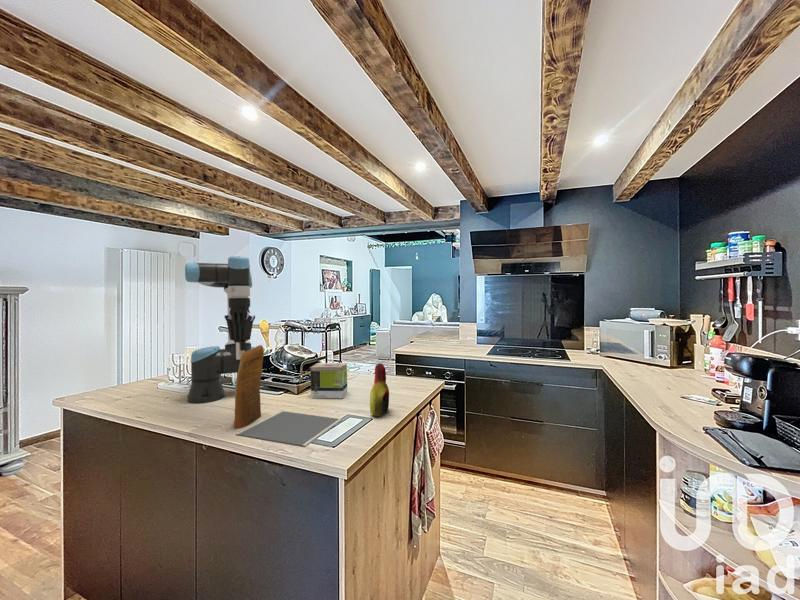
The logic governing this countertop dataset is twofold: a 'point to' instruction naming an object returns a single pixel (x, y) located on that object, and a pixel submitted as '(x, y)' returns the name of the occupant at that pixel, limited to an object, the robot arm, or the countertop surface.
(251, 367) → the pancake mix bag
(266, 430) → the mat
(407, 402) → the countertop surface
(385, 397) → the bottle
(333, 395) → the tea box
